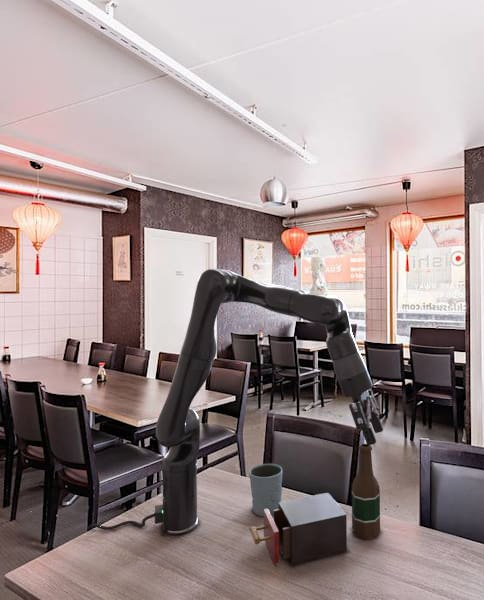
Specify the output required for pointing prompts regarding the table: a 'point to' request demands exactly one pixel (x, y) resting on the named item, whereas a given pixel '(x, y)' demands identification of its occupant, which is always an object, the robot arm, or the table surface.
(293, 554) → the cabinet
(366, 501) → the beer bottle
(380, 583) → the table surface
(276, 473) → the drinking glass
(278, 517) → the drawer
